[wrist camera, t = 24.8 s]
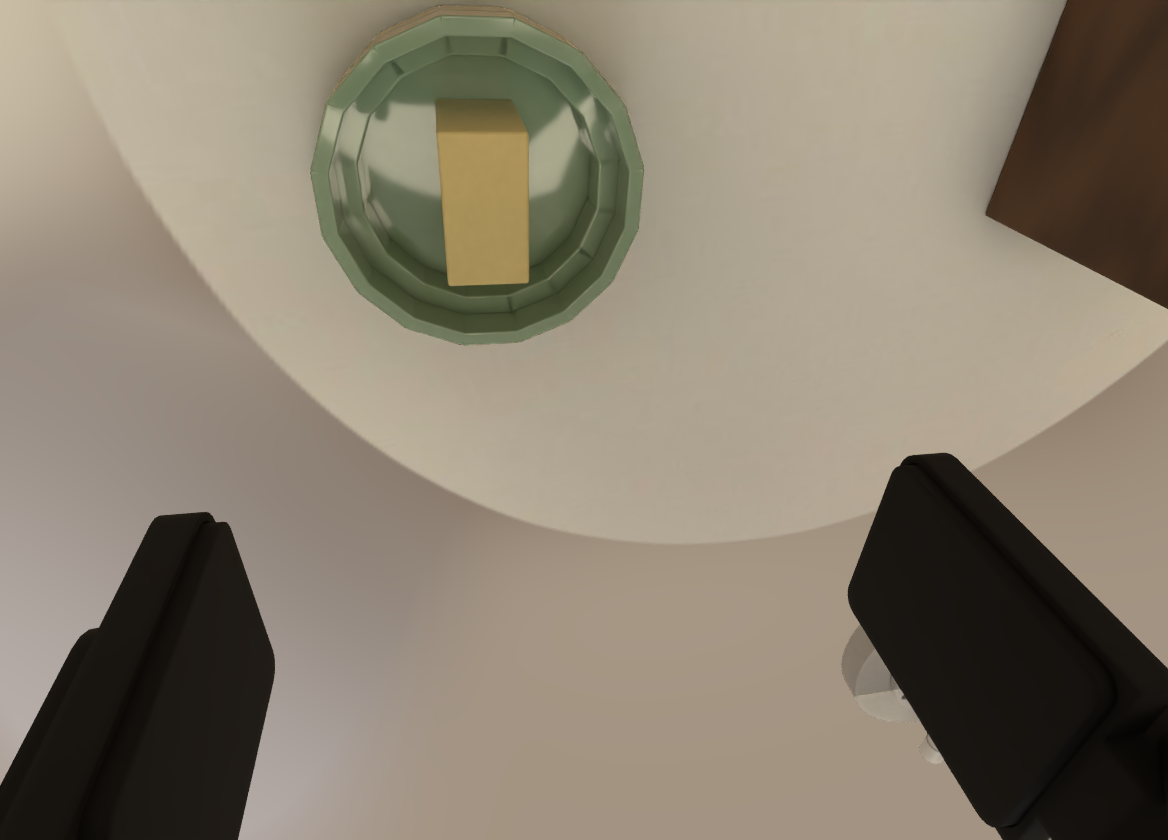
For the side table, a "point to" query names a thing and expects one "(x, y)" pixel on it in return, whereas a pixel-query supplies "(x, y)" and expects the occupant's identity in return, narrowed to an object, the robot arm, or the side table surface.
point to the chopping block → (1098, 146)
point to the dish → (412, 181)
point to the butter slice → (484, 191)
